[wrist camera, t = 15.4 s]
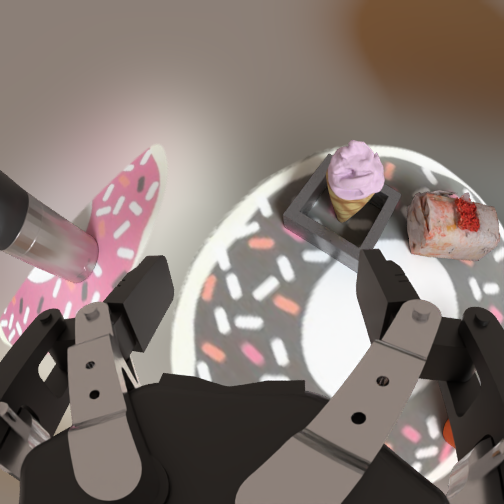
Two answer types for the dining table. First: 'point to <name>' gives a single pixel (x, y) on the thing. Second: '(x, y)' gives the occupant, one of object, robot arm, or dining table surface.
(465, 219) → the food item
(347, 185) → the ice cream cone
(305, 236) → the hollow square frame
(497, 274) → the dining table surface
